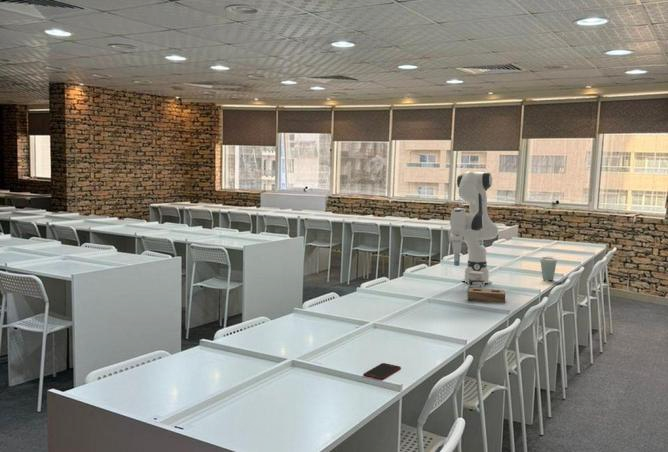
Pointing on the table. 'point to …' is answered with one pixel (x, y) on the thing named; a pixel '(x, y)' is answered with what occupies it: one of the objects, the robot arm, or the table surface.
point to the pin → (456, 261)
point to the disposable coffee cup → (548, 267)
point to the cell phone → (382, 371)
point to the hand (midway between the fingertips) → (456, 259)
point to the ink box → (476, 279)
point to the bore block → (486, 295)
